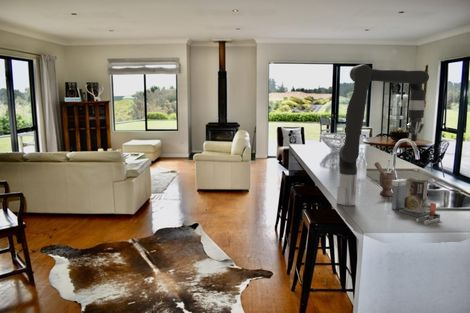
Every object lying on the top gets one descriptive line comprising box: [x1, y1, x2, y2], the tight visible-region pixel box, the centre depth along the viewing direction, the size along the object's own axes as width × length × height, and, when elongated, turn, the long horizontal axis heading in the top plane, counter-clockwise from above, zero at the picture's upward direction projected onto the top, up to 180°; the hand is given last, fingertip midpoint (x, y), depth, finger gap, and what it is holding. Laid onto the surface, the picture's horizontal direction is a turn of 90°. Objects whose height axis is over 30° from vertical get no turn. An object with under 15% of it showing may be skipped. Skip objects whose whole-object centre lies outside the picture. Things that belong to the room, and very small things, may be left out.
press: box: [391, 178, 441, 226], centre depth 192 cm, size 18×25×15 cm
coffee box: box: [403, 177, 429, 214], centre depth 194 cm, size 9×6×16 cm
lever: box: [428, 202, 437, 220], centre depth 184 cm, size 2×2×8 cm
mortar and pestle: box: [374, 161, 396, 197], centre depth 228 cm, size 12×9×20 cm
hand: (413, 141), depth 207 cm, fingers closed
